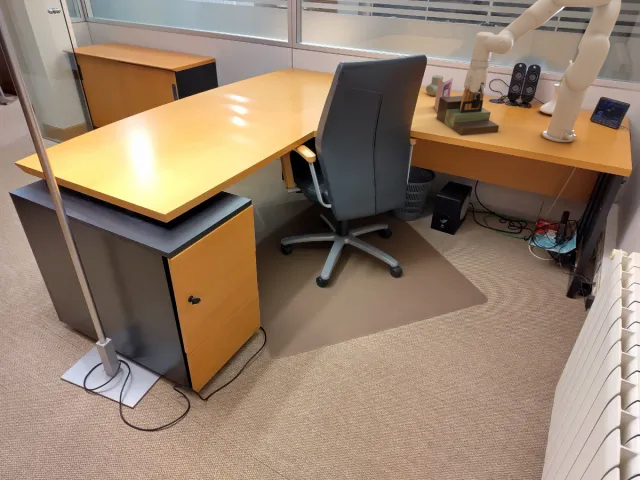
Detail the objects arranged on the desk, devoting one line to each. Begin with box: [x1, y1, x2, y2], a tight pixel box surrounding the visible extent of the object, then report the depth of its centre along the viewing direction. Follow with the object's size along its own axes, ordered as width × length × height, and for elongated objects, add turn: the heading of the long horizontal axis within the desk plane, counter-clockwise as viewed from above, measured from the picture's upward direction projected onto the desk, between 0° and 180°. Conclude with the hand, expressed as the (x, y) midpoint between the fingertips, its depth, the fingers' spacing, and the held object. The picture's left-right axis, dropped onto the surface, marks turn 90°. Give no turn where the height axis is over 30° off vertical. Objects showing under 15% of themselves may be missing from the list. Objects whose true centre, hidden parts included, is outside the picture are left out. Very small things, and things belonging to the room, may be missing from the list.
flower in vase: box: [539, 59, 573, 116], centre depth 209 cm, size 13×11×25 cm
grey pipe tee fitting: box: [425, 74, 444, 97], centre depth 239 cm, size 11×8×10 cm
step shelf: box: [436, 95, 500, 136], centre depth 198 cm, size 24×18×10 cm
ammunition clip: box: [459, 85, 485, 113], centre depth 193 cm, size 11×2×12 cm, turn 104°
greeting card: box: [433, 77, 454, 112], centre depth 215 cm, size 11×7×15 cm, turn 143°
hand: (471, 105), depth 195 cm, fingers open, 5 cm apart
